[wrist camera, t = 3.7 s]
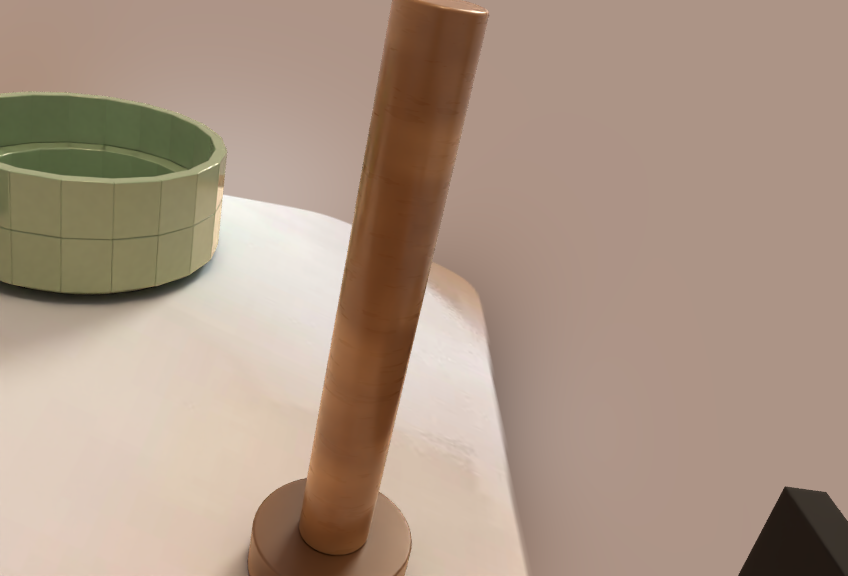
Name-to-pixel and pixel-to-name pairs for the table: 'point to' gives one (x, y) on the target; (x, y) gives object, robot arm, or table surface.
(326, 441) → the brown rod with base
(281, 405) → the table surface
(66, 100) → the bowl
